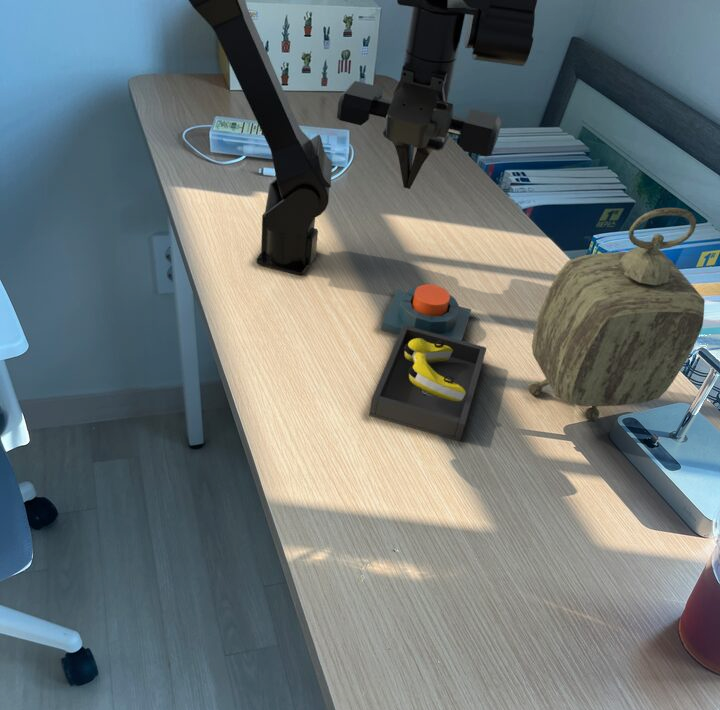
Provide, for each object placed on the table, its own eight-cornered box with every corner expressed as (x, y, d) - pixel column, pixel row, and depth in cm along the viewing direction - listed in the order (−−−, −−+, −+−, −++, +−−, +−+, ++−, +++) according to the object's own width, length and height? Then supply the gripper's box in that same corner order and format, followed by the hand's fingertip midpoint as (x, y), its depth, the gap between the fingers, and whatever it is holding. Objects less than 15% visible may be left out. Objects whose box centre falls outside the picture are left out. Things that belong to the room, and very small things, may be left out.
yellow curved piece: (395, 352, 90) (406, 327, 88) (443, 368, 92) (455, 343, 90) (403, 396, 82) (416, 369, 80) (456, 412, 84) (469, 386, 82)
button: (408, 311, 93) (411, 299, 92) (416, 292, 96) (419, 280, 95) (443, 320, 93) (446, 308, 92) (450, 301, 96) (453, 289, 95)
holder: (368, 416, 83) (371, 397, 81) (399, 342, 93) (403, 324, 91) (459, 442, 82) (465, 424, 80) (481, 365, 92) (486, 347, 90)
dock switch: (380, 330, 94) (384, 310, 92) (395, 296, 100) (399, 277, 97) (457, 351, 93) (463, 332, 91) (469, 316, 99) (474, 297, 96)
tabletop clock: (621, 379, 94) (716, 187, 75) (654, 430, 88) (766, 236, 69) (513, 384, 90) (585, 185, 72) (540, 438, 84) (626, 236, 66)
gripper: (329, 56, 79) (317, 197, 91) (502, 97, 77) (468, 236, 89) (358, 26, 87) (343, 159, 98) (517, 63, 85) (483, 194, 96)
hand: (407, 187), depth 95 cm, fingers closed
